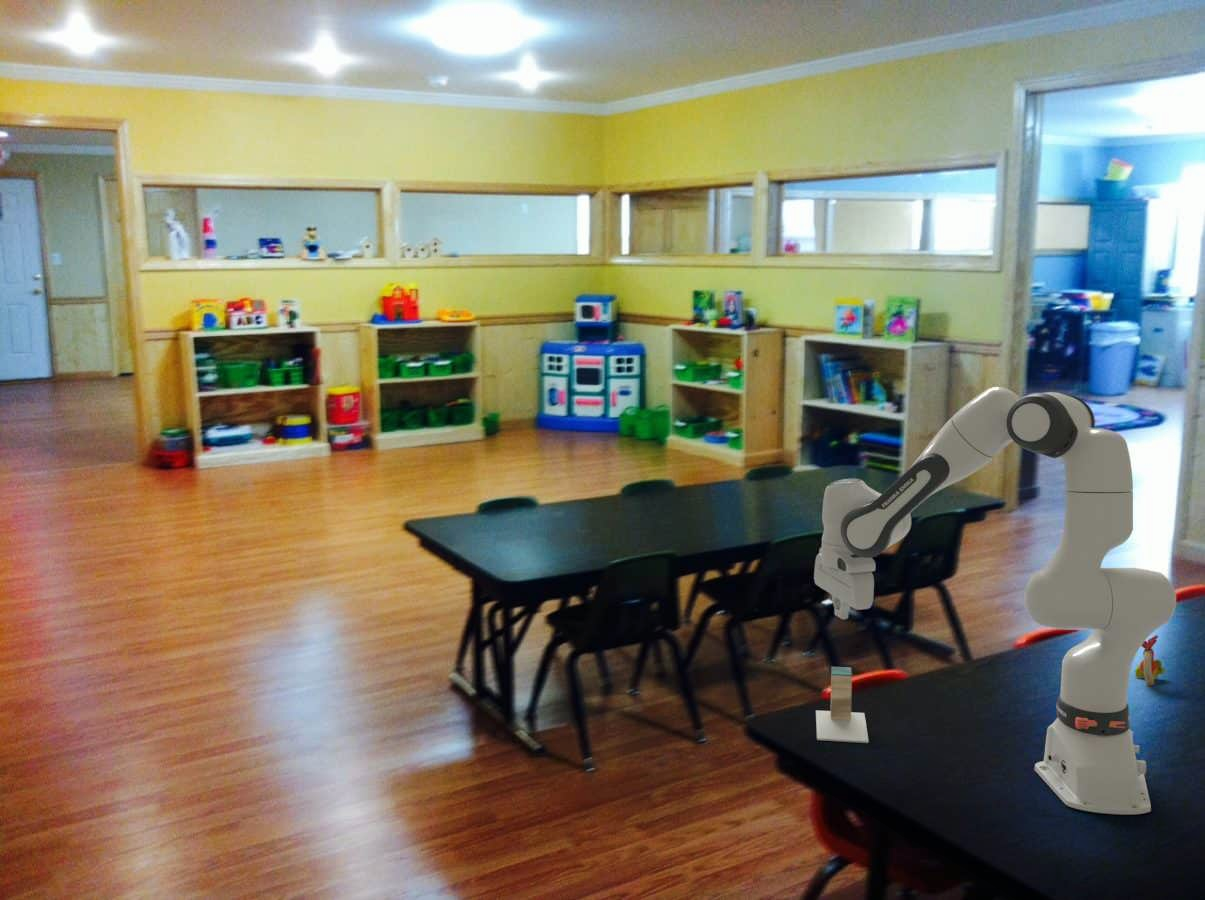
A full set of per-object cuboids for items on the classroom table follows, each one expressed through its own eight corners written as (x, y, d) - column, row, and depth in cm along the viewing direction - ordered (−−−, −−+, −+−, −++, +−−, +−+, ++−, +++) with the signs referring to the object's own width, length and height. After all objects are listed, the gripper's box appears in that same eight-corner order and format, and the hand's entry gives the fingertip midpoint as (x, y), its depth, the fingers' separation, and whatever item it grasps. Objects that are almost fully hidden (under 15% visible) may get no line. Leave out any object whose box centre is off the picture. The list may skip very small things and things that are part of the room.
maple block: (850, 720, 225) (851, 674, 224) (831, 719, 226) (831, 673, 224) (849, 712, 229) (850, 667, 228) (830, 711, 230) (831, 666, 228)
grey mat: (868, 743, 216) (868, 741, 216) (816, 740, 217) (816, 738, 217) (864, 714, 229) (864, 712, 229) (815, 712, 231) (815, 710, 231)
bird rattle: (1164, 696, 242) (1165, 668, 248) (1168, 659, 236) (1168, 631, 243) (1133, 692, 244) (1134, 664, 251) (1136, 655, 239) (1137, 628, 245)
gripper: (807, 543, 239) (806, 604, 242) (851, 568, 220) (850, 633, 222) (833, 541, 241) (832, 601, 243) (880, 565, 221) (878, 630, 224)
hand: (841, 617), depth 232 cm, fingers closed
